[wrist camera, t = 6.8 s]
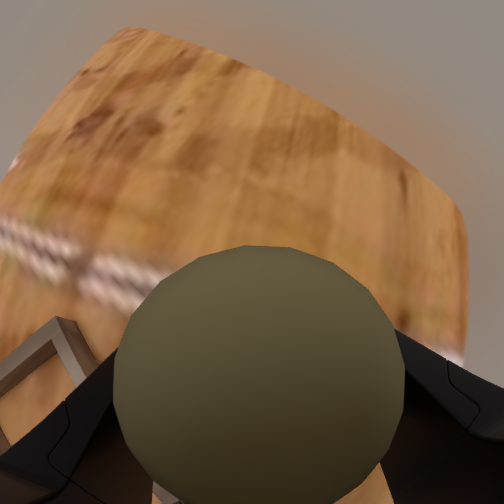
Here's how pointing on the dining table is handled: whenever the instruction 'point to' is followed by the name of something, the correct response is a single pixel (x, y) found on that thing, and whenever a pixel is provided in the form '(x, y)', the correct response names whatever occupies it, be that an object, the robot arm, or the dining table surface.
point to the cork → (259, 380)
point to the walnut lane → (73, 357)
